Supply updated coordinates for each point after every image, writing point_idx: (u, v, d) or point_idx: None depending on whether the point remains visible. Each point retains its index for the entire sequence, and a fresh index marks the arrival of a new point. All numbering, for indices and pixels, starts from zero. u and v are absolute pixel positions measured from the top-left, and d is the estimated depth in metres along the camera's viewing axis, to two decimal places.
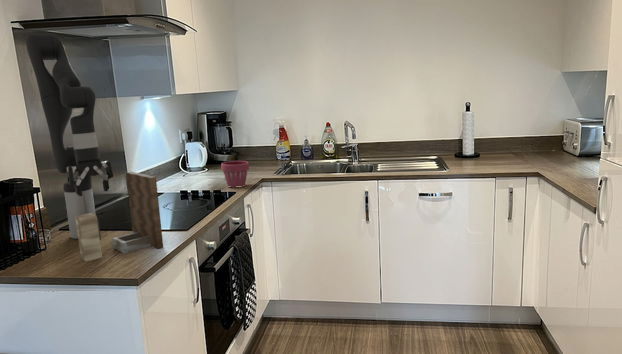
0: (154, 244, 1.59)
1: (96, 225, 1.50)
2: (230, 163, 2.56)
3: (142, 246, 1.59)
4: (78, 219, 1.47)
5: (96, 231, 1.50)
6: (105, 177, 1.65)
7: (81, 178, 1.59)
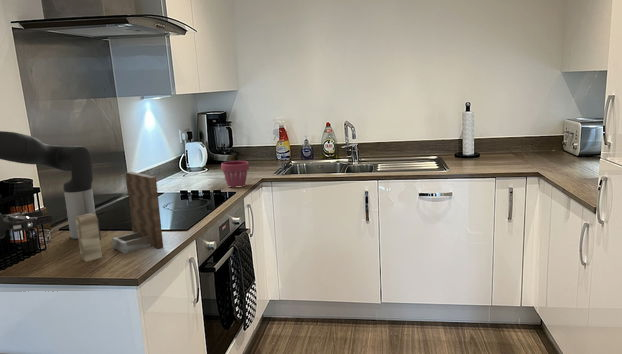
0: (154, 244, 1.59)
1: (96, 225, 1.50)
2: (230, 163, 2.56)
3: (142, 246, 1.59)
4: (78, 219, 1.47)
5: (96, 231, 1.50)
6: None
7: None
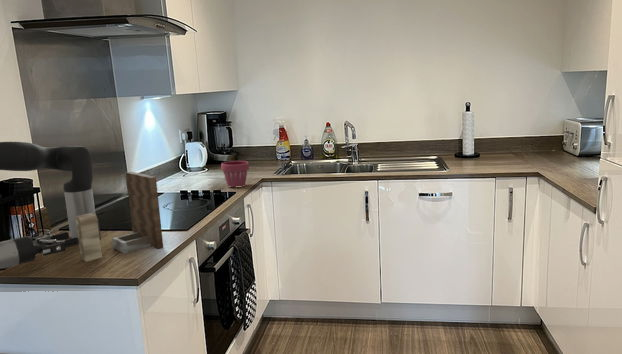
0: (154, 244, 1.59)
1: (96, 225, 1.50)
2: (230, 163, 2.56)
3: (142, 246, 1.59)
4: (78, 219, 1.47)
5: (96, 231, 1.50)
6: None
7: None
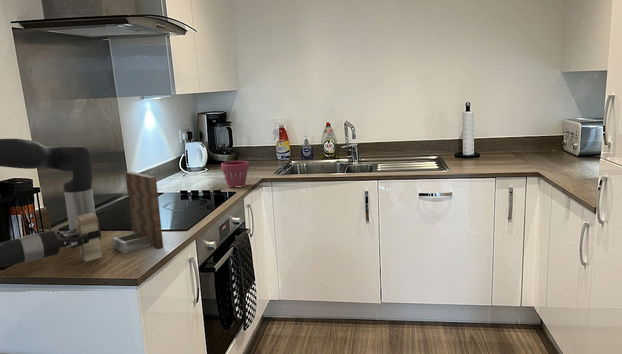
0: (154, 244, 1.59)
1: (96, 225, 1.50)
2: (230, 163, 2.56)
3: (142, 246, 1.59)
4: (78, 219, 1.47)
5: None
6: None
7: None
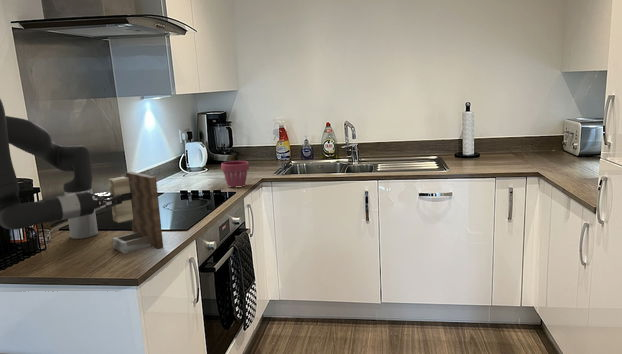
0: (154, 244, 1.59)
1: (128, 188, 1.56)
2: (230, 163, 2.56)
3: (142, 246, 1.59)
4: (111, 181, 1.53)
5: None
6: None
7: None
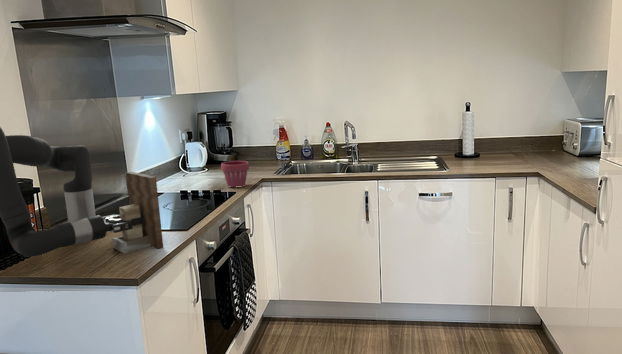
0: (154, 244, 1.59)
1: (139, 215, 1.59)
2: (230, 163, 2.56)
3: (142, 246, 1.59)
4: (122, 209, 1.56)
5: None
6: None
7: None
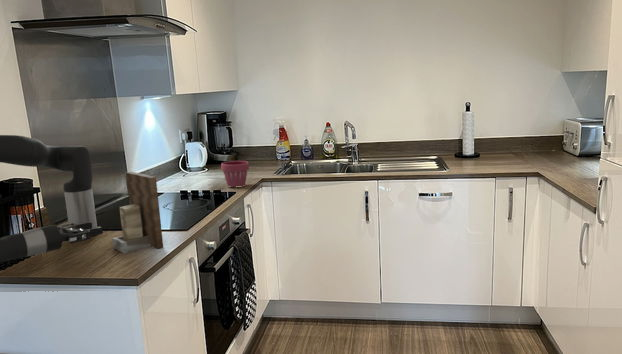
0: (154, 244, 1.59)
1: (139, 215, 1.59)
2: (230, 163, 2.56)
3: (142, 246, 1.59)
4: (123, 209, 1.56)
5: (139, 221, 1.59)
6: None
7: None
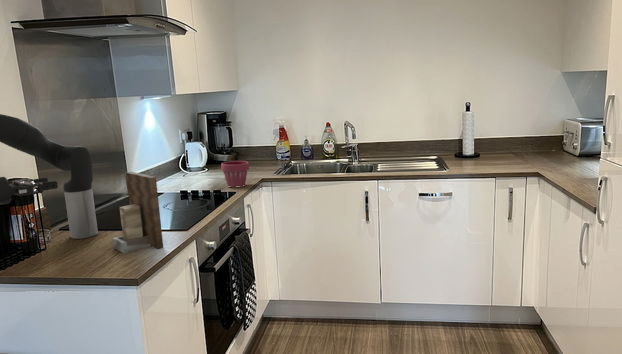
0: (154, 244, 1.59)
1: (139, 215, 1.59)
2: (230, 163, 2.56)
3: (142, 246, 1.59)
4: (123, 209, 1.56)
5: (139, 221, 1.59)
6: None
7: None
